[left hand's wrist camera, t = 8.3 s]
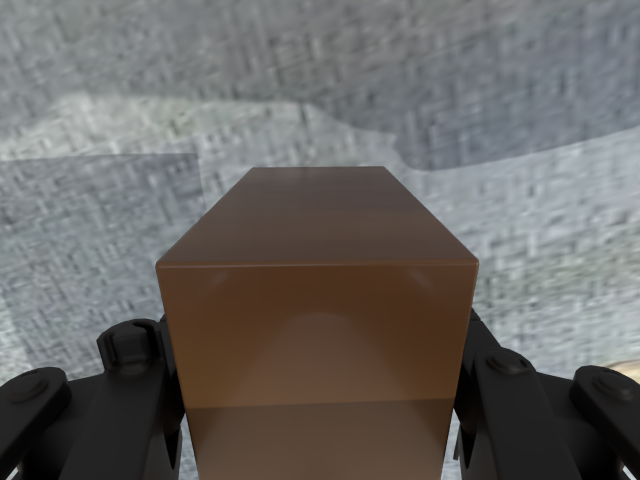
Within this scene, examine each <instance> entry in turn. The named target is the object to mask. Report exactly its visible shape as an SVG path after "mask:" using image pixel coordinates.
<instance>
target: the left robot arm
mask: <svg viewBox="0 0 640 480" xmlns="http://www.w3.org/2000/svg"><path fill="white" fill-rule="evenodd" d="M96 341H97V345H98V348H99V352H100V355H101V359H102V362H103V365H104V369H105V370H104V373H102V374H99V375H95V376H91V377H86V378H82V379H77V380H73V381H68V380H67V377H66V374H65V372H64V371H63V370H61V369H60V368H56V367H44V368H37V369H34V370H31V371H27V372H25V373H22V374H21V375H19V376H17V377H15V378H13V379H11V380H9V381H8V382H6V383H5V384H4V385H2V386H1V387H0V480H6V479H7V478H8V476H9V475H10V474H11V473H12V471H13V470H14V469H15V468H16V467H17V469H18V472H17V473H16V475H15V476H14V477H13V479H11V480H178V477H179V467H180V458H181V448H182V439H183V438H182V431H181V426H180V424H181V421H182V419H183V417H184V414H185V407H184V403H183V398H182V393H181V388H180V383H179V379H178V374H177V369H176V364H175V359H174V355H173V350H172V345H171V340H170V335H169V331H168V326H167V321H166V316H165V314H164V315H163V317H162V318H161V319H160V322H158V323H157V322H156V321H155V320H150V319H133V320H129V321H125V322H122V323H119V324H117V325H115V326H112V327H111V328H109V329H108V330H106V331H105V332H103V333H102V334H101V335H100V336H99V338H98V339H97V340H96ZM453 408H454V410H455V412H456V414H457V417H458V419H459V421H460V426H459V431H458V436H457V440H456V445H455V450H454V456H453V459H454V460H458V457H460V466H461V476H462V480H631V479H630V478H629V477H628V476H627V475H626V474H625V472H624V471H623V468H624V466H626V467H627V468H628V470H629V471H630V472H631V473H632V475H633V476H634V477H635V478H636V479H637V480H640V384H638V383H637V382H635V381H634V380H633V379H631V378H629V377H627V376H625V375H623V374H621V373H620V372H617V371H615V370H611V369H609V368H605V367H600V366H593V365H589V366H582V367H580V368H579V369H578V370H576V372H575V375H574V378H573V380H570V379H565V378H561V377H556V376H551V375H547V374H543V373H539V372H536V370H535V368H534V367H533V365H532V364H531V363H530V361H528V360H527V359H526V358H525V357H523V356H522V355H521V354H518V353H516V352H514V351H512V350H510V349H507V348H503V347H501V346H500V344H499V343H498V342H497V340H496V339H495V338H494V336H493V335H492V334H491V332H490V331H489V330H488V328H487V327H486V326H485V324H484V323H483V322H482V321H481V320H480V317H479V316H478V315H477V313H475V312H474V309H473V308H472V307H471V313H470V318H469V324H468V329H467V335H466V340H465V346H464V351H463V357H462V363H461V368H460V374H459V379H458V385H457V390H456V396H455V401H454V407H453ZM452 413H453V412H452Z"/></svg>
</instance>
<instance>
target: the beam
mask: <svg viewBox="0 0 640 480" xmlns="http://www.w3.org/2000/svg"><path fill="white" fill-rule="evenodd" d="M155 268H156V273H157V278H158V282H159V287H160V292H161V297H162V302H163V306H164V311H165V316H166V321H167V326H168V331H169V335H170V340H171V345H172V350H173V355H174V359H175V364H176V369H177V374H178V379H179V383H180V388H181V393H182V398H183V403H184V407H185V412H186V417H187V422H188V427H189V432H190V436H191V441H192V446H193V451H194V456H195V460H196V465H197V470H198V475H199V480H440V479H441V473H442V468H443V462H444V457H445V451H446V446H447V440H448V435H449V429H450V424H451V418H452V412H453V407H454V401H455V396H456V390H457V385H458V379H459V374H460V368H461V363H462V357H463V351H464V346H465V340H466V335H467V329H468V324H469V318H470V313H471V307H472V302H473V296H474V290H475V285H476V279H477V274H478V268H479V260H478V258H477V257H475V256H474V255H473V254H472V253H471V252H470V251H469V250H468V249H467V248H466V247H465V246H464V245H463V244H462V243H461V242H460V241H459V240H458V239H457V238H456V237H455V236H454V235H453V234H452V233H451V232H450V231H449V230H448V229H447V228H446V227H445V226H444V225H443V224H442V223H441V222H440V221H439V220H438V219H437V218H436V217H435V216H434V215H433V214H432V213H431V212H430V211H429V210H428V209H427V208H426V207H425V206H424V205H423V204H422V203H421V202H420V201H419V200H418V199H417V198H416V197H415V196H413V195H412V194H411V193H410V192H409V191H408V190H407V189H406V188H405V187H404V186H403V185H402V184H401V183H400V182H399V181H398V180H397V179H396V178H395V177H394V176H393V175H392V174H391V173H390V172H389V171H388V170H387V169H386V168H385V167H383V166H368V167H266V168H252V169H251V170H249V171H248V172H247V173H246V174H245V175H244V176H243V177H242V178H241V179H240V180H239V181H238V182H237V183H236V184H235V185H234V186H233V187H232V188H231V189H230V190H229V191H228V192H227V193H226V194H225V195H224V196H223V197H222V198H221V199H220V200H219V201H218V202H217V203H216V204H215V205H214V206H213V207H212V208H211V209H210V210H209V211H208V212H207V213H206V214H205V215H204V216H203V217H202V218H201V219H200V220H199V221H198V222H197V223H196V224H195V225H194V226H193V227H192V228H191V229H190V230H189V231H188V232H187V233H186V234H185V235H184V236H183V237H182V238H180V239H179V240H178V241H177V242H176V243H175V244H174V245H173V246H172V247H171V248H170V249H169V250H168V251H167V252H166V253H165V254H164V255H163V256H162V257H161V258H160V259H159V260H158V261H157V262H156V266H155Z"/></svg>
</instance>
